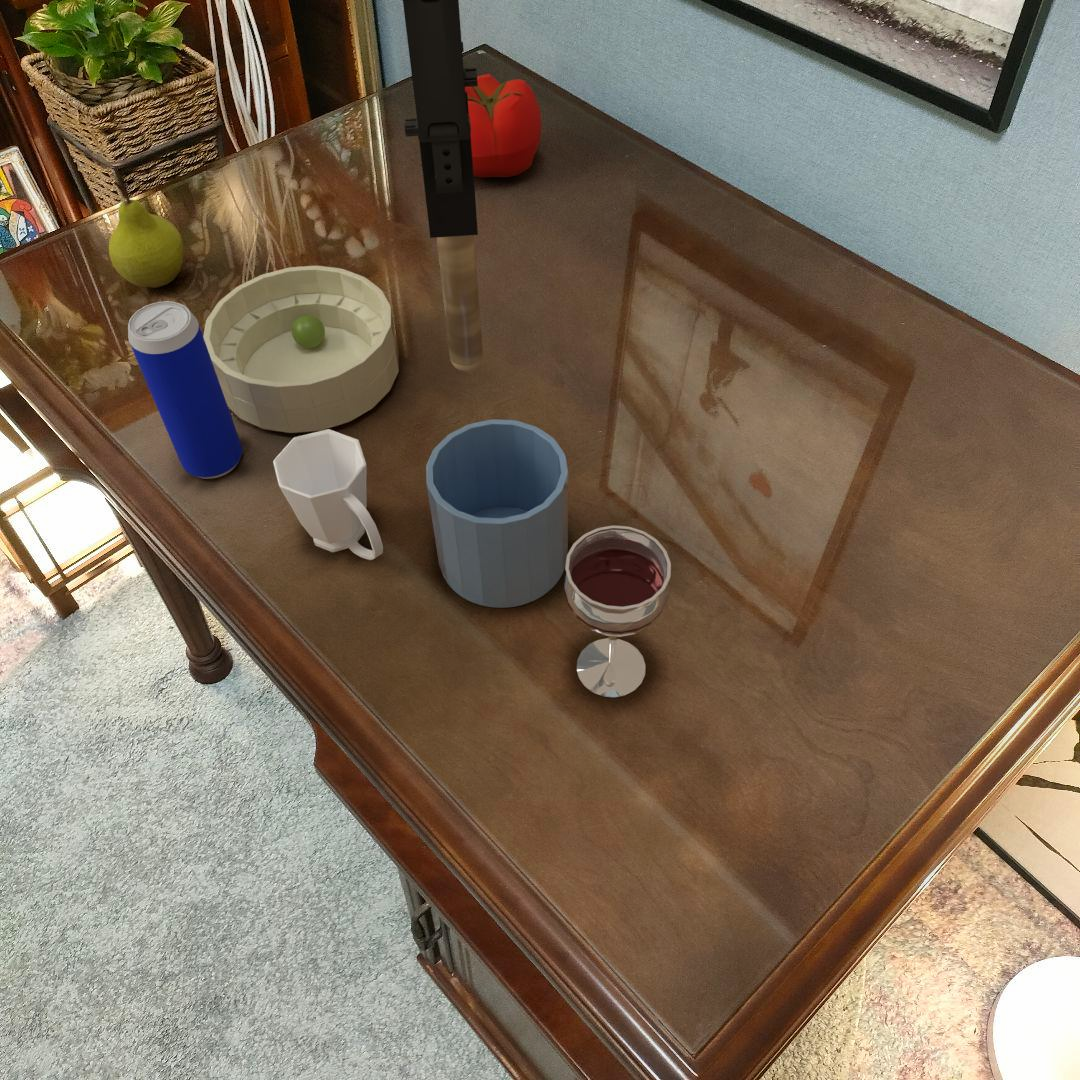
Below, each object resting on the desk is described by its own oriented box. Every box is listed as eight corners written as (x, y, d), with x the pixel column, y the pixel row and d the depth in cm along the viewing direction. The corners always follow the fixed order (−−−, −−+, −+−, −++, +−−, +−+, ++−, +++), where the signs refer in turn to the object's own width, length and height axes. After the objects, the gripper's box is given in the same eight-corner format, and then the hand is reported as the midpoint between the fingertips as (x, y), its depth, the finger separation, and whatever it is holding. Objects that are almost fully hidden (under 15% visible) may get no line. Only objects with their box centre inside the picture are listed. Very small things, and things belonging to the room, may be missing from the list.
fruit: (135, 258, 105) (93, 151, 96) (200, 259, 105) (165, 151, 96) (115, 301, 101) (69, 192, 92) (183, 301, 101) (144, 193, 91)
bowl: (212, 444, 88) (193, 393, 84) (230, 324, 98) (213, 272, 94) (400, 429, 89) (391, 378, 84) (398, 311, 99) (390, 259, 94)
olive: (294, 356, 94) (287, 330, 92) (296, 335, 96) (289, 309, 94) (327, 353, 95) (321, 328, 92) (328, 332, 96) (322, 307, 94)
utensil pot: (441, 614, 77) (428, 530, 69) (437, 512, 83) (424, 424, 75) (573, 602, 77) (575, 517, 69) (559, 501, 83) (559, 413, 76)
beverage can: (221, 429, 89) (170, 289, 78) (256, 459, 87) (208, 319, 75) (171, 460, 87) (110, 321, 75) (205, 492, 85) (148, 353, 73)
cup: (348, 484, 85) (331, 414, 79) (421, 554, 80) (409, 486, 74) (277, 528, 82) (253, 459, 76) (348, 603, 77) (329, 536, 71)
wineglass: (674, 690, 72) (690, 591, 63) (585, 721, 71) (588, 624, 61) (635, 616, 76) (645, 512, 67) (550, 644, 75) (548, 542, 65)
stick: (451, 379, 67) (419, 86, 52) (450, 357, 68) (418, 65, 53) (484, 377, 67) (462, 84, 52) (483, 355, 69) (460, 63, 53)
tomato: (551, 141, 118) (550, 64, 111) (526, 199, 111) (524, 120, 104) (462, 131, 120) (456, 55, 113) (432, 188, 112) (423, 110, 105)
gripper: (512, -247, 36) (528, 296, 54) (488, -346, 46) (508, 144, 64) (298, -237, 36) (387, 305, 54) (319, -340, 45) (388, 151, 64)
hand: (453, 217), depth 59 cm, fingers closed on stick, 2 cm apart
